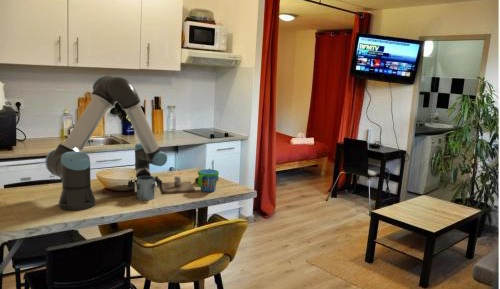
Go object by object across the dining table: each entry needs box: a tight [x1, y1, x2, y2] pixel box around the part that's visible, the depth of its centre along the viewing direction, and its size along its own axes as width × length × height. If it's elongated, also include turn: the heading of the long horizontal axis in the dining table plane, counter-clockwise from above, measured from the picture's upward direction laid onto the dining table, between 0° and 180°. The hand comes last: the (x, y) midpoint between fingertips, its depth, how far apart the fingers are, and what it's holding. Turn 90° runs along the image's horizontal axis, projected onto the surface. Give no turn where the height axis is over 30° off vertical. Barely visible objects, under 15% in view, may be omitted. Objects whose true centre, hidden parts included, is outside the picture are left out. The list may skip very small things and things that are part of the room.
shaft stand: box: [160, 175, 196, 195], centre depth 216 cm, size 16×16×6 cm
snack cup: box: [197, 168, 220, 193], centre depth 214 cm, size 16×10×10 cm
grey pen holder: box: [136, 175, 155, 201], centre depth 198 cm, size 8×8×10 cm
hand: (146, 188), depth 194 cm, fingers open, 9 cm apart
